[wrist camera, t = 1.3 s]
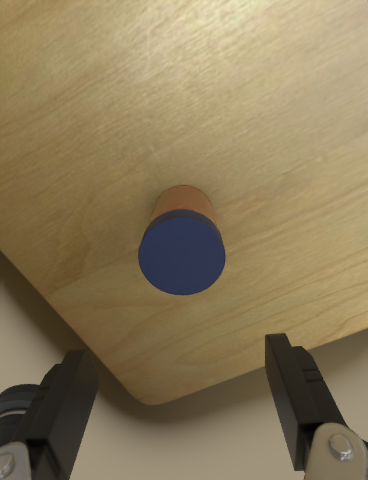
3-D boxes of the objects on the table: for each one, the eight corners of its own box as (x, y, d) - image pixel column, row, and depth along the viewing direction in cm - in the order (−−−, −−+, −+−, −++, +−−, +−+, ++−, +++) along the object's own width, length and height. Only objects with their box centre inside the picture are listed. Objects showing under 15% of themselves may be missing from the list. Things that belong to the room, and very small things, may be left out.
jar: (214, 238, 29) (225, 286, 21) (158, 243, 29) (148, 293, 21) (210, 182, 27) (220, 213, 19) (149, 188, 27) (134, 221, 19)
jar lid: (224, 278, 22) (227, 292, 21) (149, 285, 23) (146, 299, 21) (219, 204, 20) (222, 213, 18) (135, 213, 20) (130, 223, 19)
